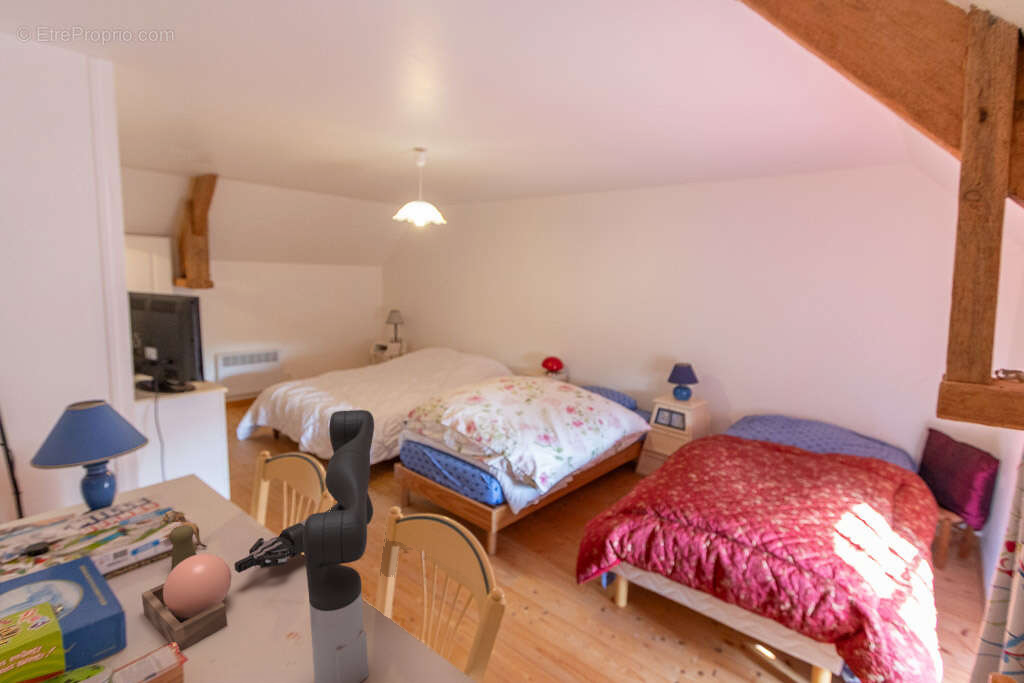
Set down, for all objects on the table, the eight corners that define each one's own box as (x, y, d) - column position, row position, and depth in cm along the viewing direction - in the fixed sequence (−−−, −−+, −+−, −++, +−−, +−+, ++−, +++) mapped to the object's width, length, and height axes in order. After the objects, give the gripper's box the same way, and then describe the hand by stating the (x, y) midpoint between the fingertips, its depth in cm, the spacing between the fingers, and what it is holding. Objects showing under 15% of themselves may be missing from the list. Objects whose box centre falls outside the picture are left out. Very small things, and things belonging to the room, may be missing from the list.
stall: (227, 625, 106) (225, 604, 105) (177, 653, 98) (175, 631, 98) (191, 591, 117) (189, 572, 116) (144, 613, 109) (141, 593, 109)
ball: (246, 559, 111) (182, 573, 101) (235, 617, 110) (170, 637, 100) (221, 541, 119) (160, 551, 108) (211, 595, 118) (148, 611, 108)
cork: (185, 575, 123) (180, 535, 121) (165, 572, 124) (160, 532, 122) (204, 561, 129) (200, 523, 127) (185, 558, 130) (181, 520, 128)
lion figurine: (159, 544, 136) (155, 514, 135) (177, 534, 141) (173, 505, 140) (198, 554, 132) (195, 523, 131) (215, 543, 137) (212, 513, 136)
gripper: (289, 515, 133) (222, 544, 119) (316, 531, 125) (248, 563, 111) (291, 540, 134) (224, 572, 120) (318, 557, 126) (251, 593, 113)
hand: (236, 568), depth 116 cm, fingers closed
